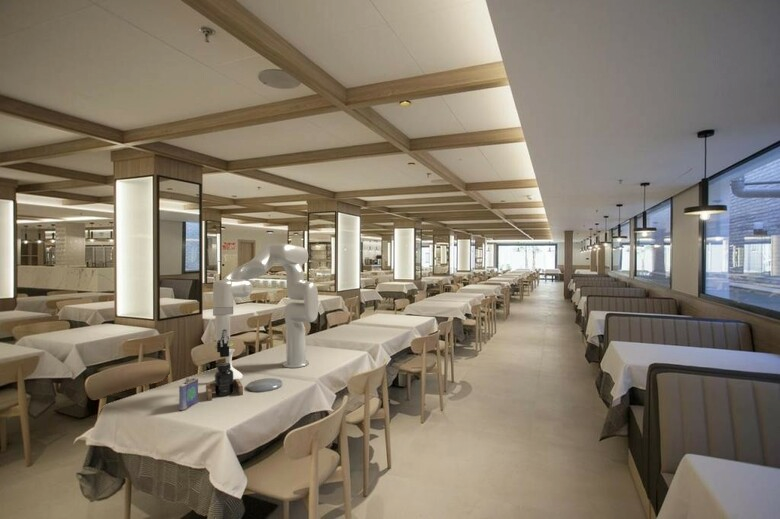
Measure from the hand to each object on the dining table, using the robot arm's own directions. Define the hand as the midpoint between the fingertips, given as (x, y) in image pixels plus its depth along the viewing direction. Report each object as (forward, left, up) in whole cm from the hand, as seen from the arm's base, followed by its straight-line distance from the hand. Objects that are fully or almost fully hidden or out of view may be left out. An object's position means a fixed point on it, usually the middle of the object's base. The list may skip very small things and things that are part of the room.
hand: (222, 354), depth 154 cm
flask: (+7, -13, -16) cm, 22 cm away
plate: (-1, +16, -16) cm, 23 cm away
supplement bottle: (0, 0, -16) cm, 16 cm away
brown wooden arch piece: (0, 0, -16) cm, 16 cm away
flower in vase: (-16, +3, -16) cm, 23 cm away
